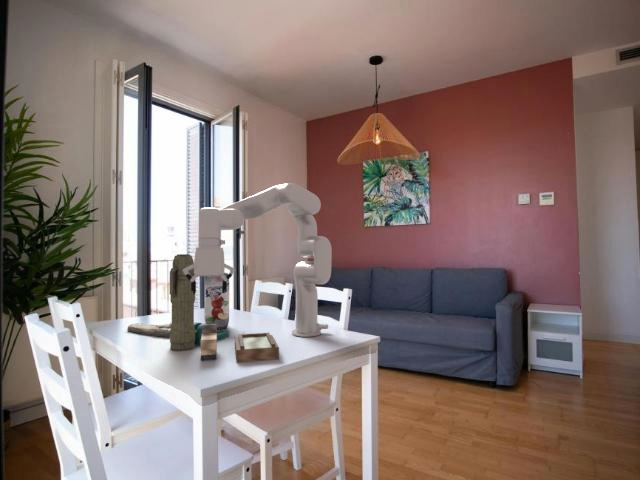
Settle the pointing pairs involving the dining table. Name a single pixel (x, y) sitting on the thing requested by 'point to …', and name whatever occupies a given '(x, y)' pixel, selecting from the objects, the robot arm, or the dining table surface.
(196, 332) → the bracket
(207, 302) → the juice carton
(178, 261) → the thermos
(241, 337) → the dock
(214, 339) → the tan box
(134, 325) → the long grey stone
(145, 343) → the dining table surface
